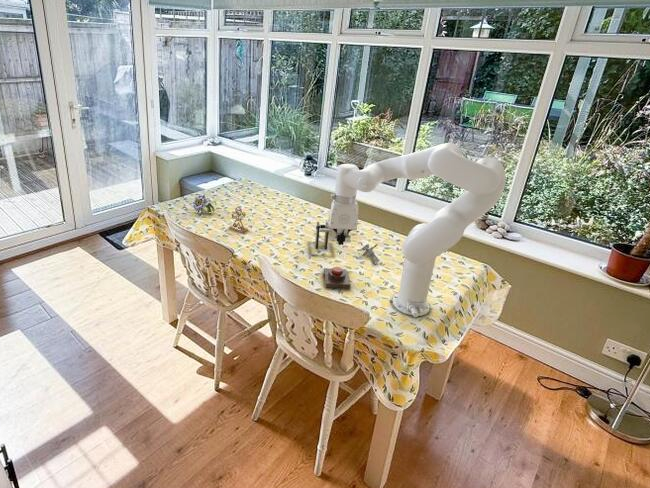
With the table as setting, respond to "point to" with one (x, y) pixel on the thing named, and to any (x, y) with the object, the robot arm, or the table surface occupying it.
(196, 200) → the passion flower
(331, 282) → the button block
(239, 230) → the brown openwork figurine
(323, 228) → the lever
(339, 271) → the button
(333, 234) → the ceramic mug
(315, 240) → the black rod frame
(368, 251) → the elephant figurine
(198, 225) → the table surface
